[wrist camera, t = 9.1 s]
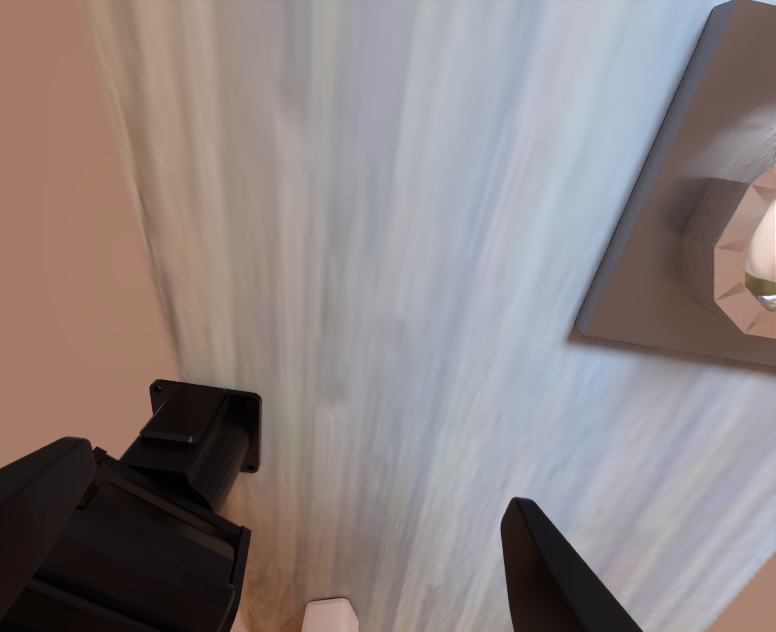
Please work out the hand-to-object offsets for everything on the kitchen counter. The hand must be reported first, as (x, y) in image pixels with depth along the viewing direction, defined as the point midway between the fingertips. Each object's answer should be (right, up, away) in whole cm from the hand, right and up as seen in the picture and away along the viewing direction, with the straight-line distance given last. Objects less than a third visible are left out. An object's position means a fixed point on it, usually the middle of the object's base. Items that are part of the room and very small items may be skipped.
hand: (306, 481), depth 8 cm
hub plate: (+20, +8, +10) cm, 24 cm away
